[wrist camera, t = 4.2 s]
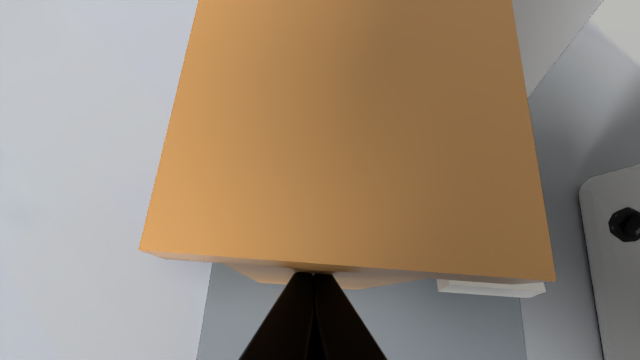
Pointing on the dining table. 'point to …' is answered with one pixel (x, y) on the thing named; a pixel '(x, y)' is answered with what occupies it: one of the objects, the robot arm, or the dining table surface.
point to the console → (374, 319)
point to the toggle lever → (547, 32)
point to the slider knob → (353, 145)
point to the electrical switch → (615, 257)
